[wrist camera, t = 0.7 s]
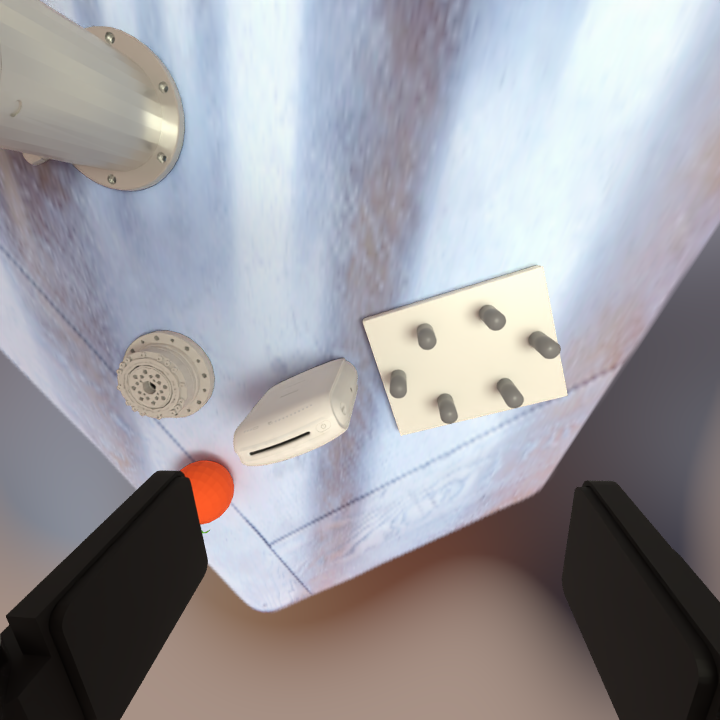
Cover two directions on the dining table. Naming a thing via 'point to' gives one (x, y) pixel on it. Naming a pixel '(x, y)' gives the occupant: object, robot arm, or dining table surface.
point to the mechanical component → (165, 375)
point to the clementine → (210, 489)
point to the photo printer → (298, 414)
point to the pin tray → (469, 352)
